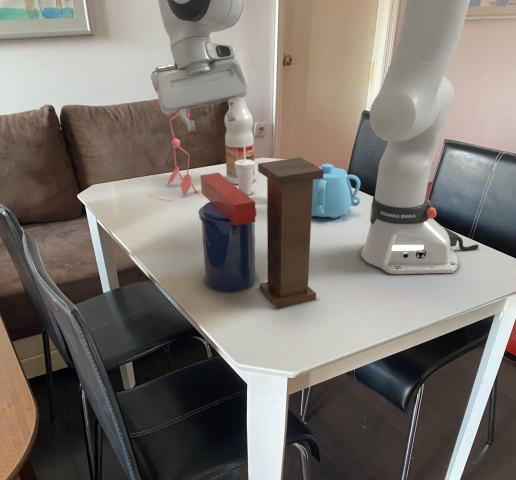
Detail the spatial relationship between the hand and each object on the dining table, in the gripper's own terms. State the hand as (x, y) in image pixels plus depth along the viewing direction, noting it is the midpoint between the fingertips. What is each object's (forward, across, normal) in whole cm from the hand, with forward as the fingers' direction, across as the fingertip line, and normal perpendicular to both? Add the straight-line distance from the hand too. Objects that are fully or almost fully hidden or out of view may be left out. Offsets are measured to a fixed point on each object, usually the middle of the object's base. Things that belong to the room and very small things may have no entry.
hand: (212, 125), depth 113 cm
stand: (+39, +2, -15) cm, 42 cm away
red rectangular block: (+18, -5, -13) cm, 23 cm away
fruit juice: (+9, +18, +55) cm, 58 cm away
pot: (+34, -7, -6) cm, 35 cm away
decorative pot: (+26, +31, +22) cm, 46 cm away
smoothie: (+14, +16, +44) cm, 48 cm away
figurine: (+7, -6, +52) cm, 53 cm away
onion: (+18, +38, +41) cm, 58 cm away
